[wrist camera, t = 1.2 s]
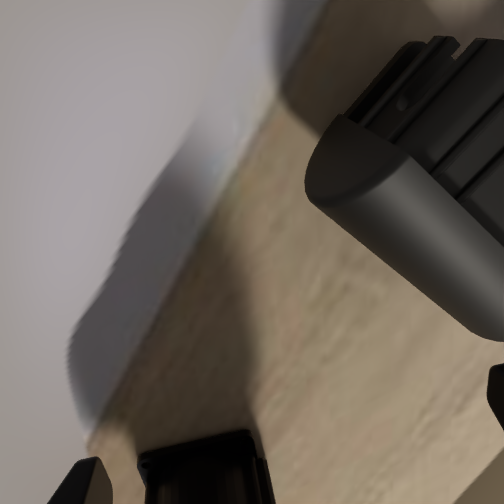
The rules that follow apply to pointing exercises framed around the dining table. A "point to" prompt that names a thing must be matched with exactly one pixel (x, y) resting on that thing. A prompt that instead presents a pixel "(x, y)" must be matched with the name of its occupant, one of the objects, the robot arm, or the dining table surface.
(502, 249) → the end cap
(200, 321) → the dining table surface
